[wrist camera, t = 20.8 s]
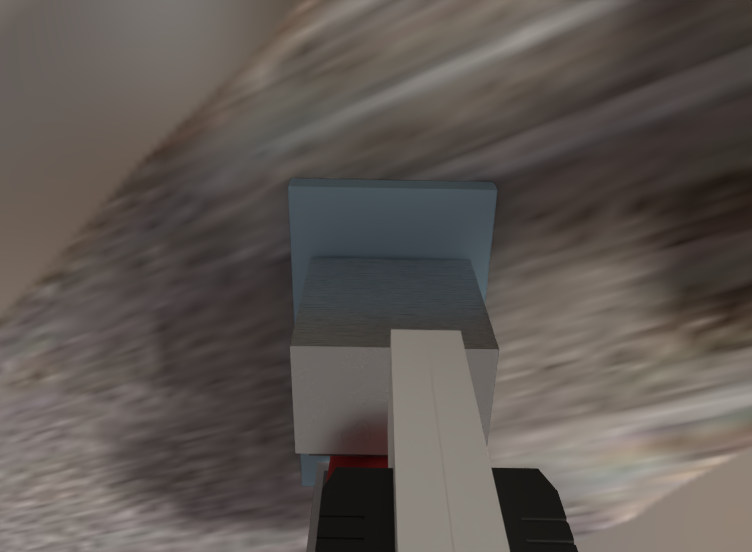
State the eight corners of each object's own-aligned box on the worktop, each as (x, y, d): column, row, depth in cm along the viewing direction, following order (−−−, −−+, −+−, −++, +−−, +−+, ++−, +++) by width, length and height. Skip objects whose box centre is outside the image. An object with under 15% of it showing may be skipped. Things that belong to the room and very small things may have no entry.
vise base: (493, 181, 37) (537, 265, 27) (462, 473, 47) (485, 615, 37) (291, 178, 37) (257, 259, 26) (304, 471, 47) (283, 612, 37)
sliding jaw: (470, 260, 37) (499, 349, 28) (461, 358, 40) (484, 465, 32) (310, 257, 37) (289, 346, 28) (313, 355, 40) (295, 462, 32)
